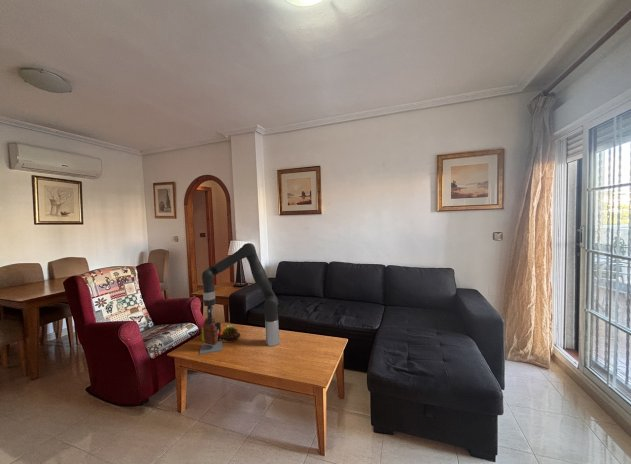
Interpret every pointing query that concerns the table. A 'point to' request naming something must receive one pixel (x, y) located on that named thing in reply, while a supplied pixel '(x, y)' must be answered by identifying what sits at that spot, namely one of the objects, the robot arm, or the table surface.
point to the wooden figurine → (210, 332)
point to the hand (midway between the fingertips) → (210, 321)
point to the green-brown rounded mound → (229, 334)
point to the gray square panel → (211, 348)
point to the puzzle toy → (217, 331)
